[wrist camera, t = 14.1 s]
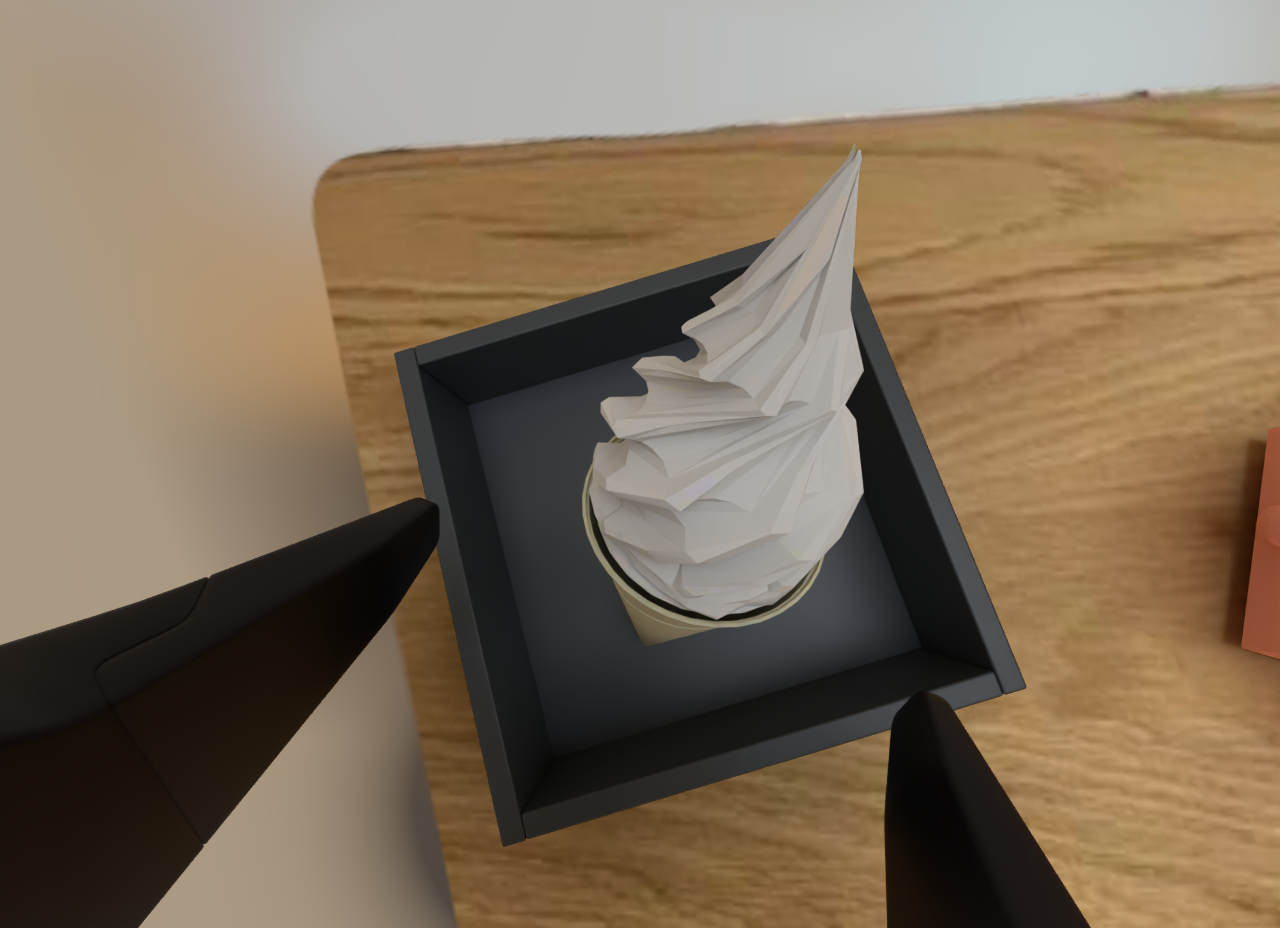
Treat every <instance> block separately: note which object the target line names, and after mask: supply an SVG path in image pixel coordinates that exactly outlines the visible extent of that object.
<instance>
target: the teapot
mask: <svg viewBox="0 0 1280 928" xmlns="http://www.w3.org/2000/svg"><path fill="white" fill-rule="evenodd" d="M1241 648H1244V649H1247V650H1250V651H1254V652H1257V653H1260V654H1263V655H1267V656H1270V657H1273V658H1277V659H1280V427H1277V428H1273V429H1269V430H1268V437H1267V445H1266V453H1265V461H1264V469H1263V477H1262V486H1261V494H1260V502H1259V510H1258V517H1257V523H1256V533H1255V541H1254V549H1253V557H1252V565H1251V573H1250V581H1249V589H1248V597H1247V604H1246V612H1245V620H1244V628H1243V636H1242V644H1241Z"/></svg>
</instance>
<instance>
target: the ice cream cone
mask: <svg viewBox="0 0 1280 928" xmlns="http://www.w3.org/2000/svg"><path fill="white" fill-rule="evenodd" d="M861 162H862V156H861V151H860V149H859V151H858V152H857V154H856V146H855V144H854V146H853V148H852V150H851V152H850V154H849V155H848V157H847V159H846V161H845V163H844V164H843V165H842V166H841V167H840V168H839V169H838V170H837V172H836V173H835V174H834V175H833V176H832V177H831V178H830V179H829V180H828V181H827V183H826V184H825V185H824V186H823V187H822V188H821V189H820V190H819V191H818V192H817V193H816V195H815V196H814V197H813V198H812V199H811V200H810V201H809V202H808V203H807V204H806V206H805V207H804V208H803V209H802V210H801V211H800V212H799V213H798V214H797V215H796V216H795V218H794V219H793V220H792V221H791V222H790V223H789V224H788V225H787V226H786V227H785V229H784V230H783V231H782V232H781V233H780V234H779V235H778V236H777V237H776V238H775V240H774V241H773V242H772V243H771V244H770V245H769V246H768V247H767V248H766V249H765V250H764V252H763V253H762V254H761V255H760V256H759V257H758V258H757V259H756V260H755V261H754V263H753V264H752V265H751V266H750V267H749V268H748V269H747V270H746V271H745V272H744V274H743V275H741V276H740V277H738V278H737V279H735V280H734V281H733V282H731V283H730V284H728V285H727V286H726V287H724V288H723V289H721V290H720V291H718V292H717V293H716V294H714V295H713V296H711V297H710V298H711V299H712V301H713V302H714V304H715V307H714V308H712V309H710V310H708V311H706V312H704V313H702V314H700V315H698V316H696V317H695V318H693V319H691V320H689V321H687V322H686V323H685V324H684V325H683V326H682V333H683V334H685V335H687V336H689V337H691V338H693V339H694V340H695V342H696V343H697V345H698V347H699V349H700V351H699V353H698V355H697V356H696V358H693V359H691V360H689V361H686V362H683V361H681V360H680V359H678V358H677V357H675V356H656V357H645V358H641V359H640V360H639V361H638V362H637V363H636V364H635V365H634V366H633V367H632V368H633V369H634V370H635V371H636V372H637V373H638V374H640V375H641V376H642V377H643V378H644V379H645V380H646V382H647V387H648V394H645V395H643V396H636V397H609V398H607V399H606V400H604V401H603V402H601V414H602V415H603V417H604V418H605V420H606V421H607V423H608V424H609V426H610V427H611V429H612V430H613V432H614V433H615V436H614V437H613V438H612V439H611V440H610V441H609V442H608V443H597V445H596V448H595V450H594V456H593V462H592V465H591V467H590V469H589V472H588V474H587V476H586V479H585V485H584V490H583V495H582V508H583V519H584V523H585V528H586V533H587V536H588V538H589V540H590V543H591V545H592V547H593V550H594V552H595V554H596V556H597V557H598V559H599V560H600V562H601V563H602V565H603V566H604V568H605V569H606V571H607V572H608V574H609V575H610V576H611V577H612V578H613V581H614V583H615V586H616V588H617V590H618V592H619V594H620V596H621V598H622V601H623V603H624V605H625V607H626V609H627V612H628V614H629V616H630V618H631V620H632V623H633V625H634V627H635V629H636V631H637V634H638V636H639V638H640V640H641V642H642V644H644V645H645V646H651V645H655V644H659V643H663V642H666V641H670V640H674V639H677V638H681V637H685V636H689V635H692V634H696V633H700V632H704V631H707V630H711V629H715V628H723V627H740V626H745V625H750V624H754V623H759V622H762V621H764V620H767V619H769V618H771V617H774V616H776V615H778V614H781V613H782V612H784V611H785V610H786V609H788V608H789V607H791V606H792V605H793V604H795V603H796V602H798V600H799V599H800V598H801V597H802V596H803V595H804V594H805V593H806V592H807V591H808V589H809V588H810V587H811V585H812V584H813V582H814V580H815V578H816V577H817V575H818V573H819V571H820V568H821V565H822V562H823V558H824V555H825V554H826V552H827V551H828V550H829V549H830V548H831V547H832V546H833V545H834V544H835V543H836V542H837V541H838V540H839V539H840V537H841V536H842V534H843V532H844V530H845V528H846V526H847V524H848V522H849V520H850V518H851V516H852V514H853V512H854V510H855V508H856V506H857V504H858V502H859V500H860V498H861V496H862V494H863V492H864V490H863V481H862V471H861V462H860V453H859V444H858V435H857V426H856V419H855V418H854V417H853V415H852V414H851V412H850V411H849V409H848V408H847V407H846V405H845V404H846V402H847V400H848V398H849V397H850V395H851V393H852V391H853V389H854V387H855V386H856V384H857V382H858V380H859V378H860V376H861V375H862V373H863V371H864V369H863V364H862V360H861V355H860V351H859V346H858V342H857V337H856V333H855V328H854V324H853V320H852V315H851V311H850V308H851V292H852V275H853V259H854V242H855V226H856V209H857V193H858V176H859V170H860V166H861Z"/></svg>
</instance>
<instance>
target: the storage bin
mask: <svg viewBox="0 0 1280 928" xmlns="http://www.w3.org/2000/svg"><path fill="white" fill-rule="evenodd" d="M774 240H775V238H774V239H770V240H767V241H764V242H761V243H757V244H754V245H751V246H747V247H744V248H741V249H737V250H734V251H731V252H727V253H724V254H721V255H717V256H714V257H711V258H708V259H704V260H701V261H698V262H694V263H691V264H688V265H684V266H681V267H678V268H674V269H671V270H668V271H665V272H661V273H658V274H655V275H651V276H648V277H645V278H641V279H638V280H635V281H631V282H628V283H625V284H622V285H618V286H615V287H612V288H608V289H605V290H602V291H598V292H595V293H592V294H588V295H585V296H582V297H579V298H575V299H572V300H569V301H565V302H562V303H559V304H555V305H552V306H549V307H545V308H542V309H539V310H536V311H532V312H529V313H526V314H522V315H519V316H516V317H512V318H509V319H506V320H502V321H499V322H496V323H492V324H489V325H486V326H483V327H479V328H476V329H473V330H469V331H466V332H463V333H459V334H456V335H453V336H449V337H446V338H443V339H440V340H436V341H433V342H430V343H426V344H423V345H420V346H416V347H415V349H414V348H409V349H406V350H403V351H399V352H396V353H394V355H395V360H396V364H397V369H398V374H399V378H400V383H401V387H402V392H403V396H404V401H405V405H406V410H407V414H408V419H409V423H410V428H411V433H412V437H413V442H414V446H415V451H416V455H417V460H418V464H419V469H420V473H421V478H422V483H423V487H424V492H425V496H426V500H428V501H431V502H433V503H436V504H437V505H438V507H439V510H440V537H439V541H438V543H437V551H438V555H439V560H440V564H441V569H442V573H443V578H444V582H445V587H446V591H447V596H448V601H449V605H450V610H451V614H452V619H453V623H454V628H455V632H456V637H457V641H458V646H459V650H460V655H461V660H462V664H463V669H464V673H465V678H466V682H467V687H468V691H469V696H470V700H471V705H472V709H473V714H474V719H475V723H476V728H477V732H478V737H479V741H480V746H481V750H482V755H483V759H484V764H485V768H486V773H487V778H488V782H489V787H490V791H491V796H492V800H493V805H494V809H495V814H496V818H497V823H498V828H499V832H500V837H501V841H502V845H503V847H505V846H508V845H512V844H515V843H518V842H522V841H525V840H526V838H527V839H531V838H534V837H537V836H541V835H544V834H547V833H550V832H554V831H557V830H560V829H564V828H567V827H570V826H574V825H577V824H580V823H583V822H587V821H590V820H593V819H597V818H600V817H603V816H607V815H610V814H613V813H617V812H620V811H623V810H626V809H630V808H633V807H636V806H640V805H643V804H646V803H650V802H653V801H656V800H660V799H663V798H666V797H669V796H673V795H676V794H679V793H683V792H686V791H689V790H693V789H696V788H699V787H702V786H706V785H709V784H712V783H716V782H719V781H722V780H726V779H729V778H732V777H736V776H739V775H742V774H745V773H749V772H752V771H755V770H759V769H762V768H765V767H769V766H772V765H775V764H778V763H782V762H785V761H788V760H792V759H795V758H798V757H802V756H805V755H808V754H812V753H815V752H818V751H821V750H825V749H828V748H831V747H835V746H838V745H841V744H845V743H848V742H851V741H854V740H858V739H861V738H864V737H868V736H871V735H874V734H878V733H881V732H884V731H888V730H891V726H892V721H893V718H894V716H895V714H896V713H897V711H898V710H899V709H900V708H901V707H902V706H903V705H904V704H905V703H906V702H907V701H908V700H909V698H910V697H911V696H912V695H913V694H914V693H915V692H916V691H918V690H925V691H928V692H931V693H933V694H936V695H938V696H941V697H943V698H944V699H946V700H947V701H948V703H949V704H950V705H951V707H952V709H953V710H957V709H960V708H964V707H967V706H970V705H973V704H977V703H980V702H983V701H987V700H990V699H993V698H997V697H1000V696H1002V695H1003V694H1010V693H1013V692H1016V691H1019V690H1023V689H1025V688H1026V684H1025V682H1024V679H1023V677H1022V674H1021V672H1020V670H1019V667H1018V665H1017V662H1016V660H1015V657H1014V655H1013V653H1012V650H1011V648H1010V645H1009V643H1008V640H1007V638H1006V636H1005V633H1004V631H1003V628H1002V626H1001V623H1000V621H999V619H998V616H997V614H996V611H995V609H994V606H993V604H992V602H991V599H990V597H989V594H988V592H987V589H986V587H985V585H984V582H983V580H982V577H981V575H980V572H979V570H978V568H977V565H976V563H975V560H974V558H973V555H972V553H971V551H970V548H969V546H968V543H967V541H966V538H965V536H964V534H963V531H962V529H961V526H960V524H959V521H958V519H957V517H956V514H955V512H954V509H953V507H952V504H951V502H950V500H949V497H948V495H947V492H946V490H945V487H944V485H943V483H942V480H941V478H940V475H939V473H938V470H937V468H936V466H935V463H934V461H933V458H932V456H931V453H930V451H929V449H928V446H927V444H926V441H925V439H924V436H923V434H922V432H921V429H920V427H919V424H918V422H917V419H916V417H915V415H914V412H913V410H912V407H911V405H910V402H909V400H908V397H907V395H906V393H905V390H904V388H903V385H902V383H901V380H900V378H899V376H898V373H897V371H896V368H895V366H894V363H893V361H892V359H891V356H890V354H889V351H888V349H887V346H886V344H885V342H884V339H883V337H882V334H881V332H880V329H879V327H878V325H877V322H876V320H875V317H874V315H873V312H872V310H871V308H870V305H869V303H868V300H867V298H866V295H865V293H864V291H863V288H862V286H861V283H860V281H859V278H858V276H857V274H856V271H855V269H854V266H853V275H852V292H851V308H850V311H851V315H852V320H853V324H854V328H855V333H856V337H857V342H858V346H859V351H860V355H861V360H862V364H863V369H864V371H863V373H862V375H861V376H860V378H859V380H858V382H857V384H856V386H855V387H854V389H853V391H852V393H851V395H850V397H849V398H848V400H847V402H846V404H845V405H846V407H847V408H848V409H849V411H850V412H851V414H852V415H853V417H854V418H855V419H856V426H857V435H858V444H859V453H860V462H861V471H862V481H863V490H864V492H863V494H862V496H861V498H860V500H859V502H858V504H857V506H856V508H855V510H854V512H853V514H852V516H851V518H850V520H849V522H848V524H847V526H846V528H845V530H844V532H843V534H842V536H841V537H840V539H839V540H838V541H837V542H836V543H835V544H834V545H833V546H832V547H831V548H830V549H829V550H828V551H827V552H826V554H825V555H824V558H823V562H822V565H821V568H820V571H819V573H818V575H817V577H816V578H815V580H814V582H813V584H812V585H811V587H810V588H809V589H808V591H807V592H806V593H805V594H804V595H803V596H802V597H801V598H800V599H799V600H798V602H796V603H795V604H793V605H792V606H791V607H789V608H788V609H786V610H785V611H784V612H782V613H781V614H778V615H776V616H774V617H771V618H769V619H767V620H764V621H762V622H759V623H754V624H750V625H745V626H740V627H723V628H715V629H711V630H707V631H704V632H700V633H696V634H692V635H689V636H685V637H681V638H677V639H674V640H670V641H666V642H663V643H659V644H655V645H651V646H645V645H644V644H642V642H641V640H640V638H639V636H638V634H637V631H636V629H635V627H634V625H633V623H632V620H631V618H630V616H629V614H628V612H627V609H626V607H625V605H624V603H623V601H622V598H621V596H620V594H619V592H618V590H617V588H616V586H615V583H614V581H613V578H612V577H611V576H610V575H609V574H608V572H607V571H606V569H605V568H604V566H603V565H602V563H601V562H600V560H599V559H598V557H597V556H596V554H595V552H594V550H593V547H592V545H591V543H590V540H589V538H588V536H587V533H586V528H585V523H584V519H583V508H582V495H583V490H584V485H585V479H586V476H587V474H588V472H589V469H590V467H591V465H592V462H593V456H594V450H595V448H596V445H597V443H608V442H609V441H610V440H611V439H612V438H613V437H614V436H615V433H614V432H613V430H612V429H611V427H610V426H609V424H608V423H607V421H606V420H605V418H604V417H603V415H602V414H601V402H603V401H604V400H606V399H607V398H609V397H636V396H643V395H645V394H648V387H647V382H646V380H645V379H644V378H643V377H642V376H641V375H640V374H638V373H637V372H636V371H635V370H634V369H633V368H632V367H633V366H634V365H635V364H636V363H637V362H638V361H639V360H640V359H641V358H645V357H656V356H675V357H677V358H678V359H680V360H681V361H683V362H686V361H689V360H691V359H693V358H696V356H697V355H698V353H699V351H700V349H699V347H698V345H697V343H696V342H695V340H694V339H693V338H691V337H689V336H687V335H685V334H683V333H682V326H683V325H684V324H685V323H686V322H687V321H689V320H691V319H693V318H695V317H696V316H698V315H700V314H702V313H704V312H706V311H708V310H710V309H712V308H714V307H715V304H714V302H713V301H712V299H711V298H710V297H711V296H713V295H714V294H716V293H717V292H718V291H720V290H721V289H723V288H724V287H726V286H727V285H728V284H730V283H731V282H733V281H734V280H735V279H737V278H738V277H740V276H741V275H743V274H744V272H745V271H746V270H747V269H748V268H749V267H750V266H751V265H752V264H753V263H754V261H755V260H756V259H757V258H758V257H759V256H760V255H761V254H762V253H763V252H764V250H765V249H766V248H767V247H768V246H769V245H770V244H771V243H772V242H773V241H774Z"/></svg>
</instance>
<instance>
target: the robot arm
mask: <svg viewBox="0 0 1280 928" xmlns="http://www.w3.org/2000/svg"><path fill="white" fill-rule="evenodd" d="M439 537H440V510H439V507H438V505H437V504H436V503H433V502H431V501H428V500H425V499H423V498H414V499H411V500H408V501H406V502H403V503H400V504H398V505H395V506H392V507H390V508H387V509H384V510H382V511H379V512H376V513H374V514H371V515H369V516H366V517H364V518H361V519H358V520H355V521H353V522H350V523H348V524H345V525H342V526H340V527H337V528H334V529H332V530H329V531H326V532H324V533H321V534H318V535H316V536H313V537H311V538H308V539H305V540H303V541H300V542H297V543H295V544H292V545H289V546H287V547H285V548H282V549H279V550H276V551H274V552H271V553H268V554H266V555H263V556H260V557H258V558H255V559H253V560H250V561H247V562H245V563H242V564H240V565H237V566H234V567H231V568H229V569H226V570H223V571H221V572H218V573H216V574H213V575H211V576H210V578H207V577H205V578H202V579H199V580H197V581H194V582H191V583H189V584H186V585H184V586H181V587H178V588H175V589H173V590H170V591H167V592H164V593H161V594H159V595H156V596H153V597H151V598H147V599H145V600H142V601H139V602H136V603H133V604H130V605H127V606H124V607H121V608H118V609H115V610H111V611H108V612H105V613H102V614H99V615H96V616H93V617H90V618H87V619H83V620H80V621H77V622H73V623H70V624H67V625H64V626H60V627H57V628H55V629H51V630H47V631H44V632H41V633H38V634H34V635H31V636H28V637H25V638H22V639H18V640H15V641H12V642H9V643H5V644H2V645H0V928H138V927H139V926H140V925H141V924H142V922H143V921H144V920H145V918H147V916H148V915H149V914H150V913H151V911H152V910H153V909H154V908H155V906H156V905H157V904H158V903H159V902H160V900H161V899H162V898H163V897H164V895H165V894H166V893H167V892H168V890H169V889H170V888H171V886H172V885H173V884H174V883H175V882H176V881H177V879H178V878H179V877H180V876H181V874H182V873H183V872H184V871H185V870H186V868H187V867H188V866H189V864H190V863H191V862H192V861H193V860H194V858H195V857H196V856H197V855H198V853H199V852H200V851H201V850H202V848H203V847H204V846H203V844H206V843H207V842H208V840H209V839H210V838H211V837H212V835H213V834H214V833H215V832H216V831H217V829H218V828H219V827H220V826H221V824H222V823H223V822H224V821H225V820H226V818H227V817H228V816H229V815H230V813H231V812H232V811H233V810H234V809H235V807H236V806H237V805H238V804H239V802H240V801H241V800H242V799H243V797H244V796H245V795H246V794H247V792H248V791H249V790H250V789H251V788H252V786H253V785H254V784H255V783H256V782H257V780H258V779H259V778H260V777H261V775H262V774H263V773H264V772H265V770H266V769H267V768H268V767H269V766H270V764H271V763H272V762H273V760H274V759H275V758H276V757H277V756H278V754H279V753H280V752H281V751H282V749H283V748H284V747H285V746H286V745H287V743H288V742H289V741H290V740H291V738H292V737H293V736H294V735H295V733H296V732H297V731H298V730H299V729H300V727H301V726H302V724H304V722H305V721H306V720H307V719H308V717H309V716H310V715H311V714H312V713H313V711H314V710H315V709H316V708H317V706H318V705H319V704H320V703H321V701H322V700H323V699H324V698H325V697H326V695H327V694H328V693H329V692H330V690H331V689H332V688H333V687H334V685H335V684H336V683H337V682H338V681H339V679H340V678H341V677H342V675H343V674H344V673H345V672H346V671H347V669H348V668H349V667H350V666H351V664H352V663H353V662H354V661H355V660H356V658H357V657H358V656H359V655H360V653H361V652H362V651H363V650H364V648H365V647H366V646H367V645H368V643H369V642H370V641H371V640H372V639H373V637H374V636H375V635H376V634H377V632H378V631H379V630H380V629H381V628H382V626H383V625H384V624H385V623H386V621H387V620H388V619H389V617H390V616H391V615H392V613H393V612H394V611H395V609H396V608H397V606H398V605H399V603H400V602H401V600H402V599H403V597H404V596H405V594H406V592H407V591H408V589H409V588H410V586H411V585H412V583H413V582H414V580H415V578H416V577H417V575H418V574H419V572H420V571H421V569H422V568H423V566H424V565H425V563H426V561H427V560H428V558H429V557H430V555H431V554H432V552H433V551H434V549H435V547H436V546H437V543H438V541H439ZM884 833H885V868H886V902H887V928H1091V927H1090V926H1089V924H1088V923H1087V921H1086V919H1085V918H1084V916H1083V915H1082V913H1081V911H1080V910H1079V908H1078V907H1077V905H1076V904H1075V902H1074V900H1073V899H1072V897H1071V896H1070V894H1069V892H1068V891H1067V889H1066V888H1065V886H1064V884H1063V883H1062V881H1061V880H1060V878H1059V877H1058V875H1057V873H1056V872H1055V870H1054V869H1053V867H1052V865H1051V864H1050V862H1049V861H1048V859H1047V858H1046V856H1045V854H1044V853H1043V851H1042V850H1041V848H1040V846H1039V845H1038V843H1037V842H1036V840H1035V839H1034V837H1033V835H1032V834H1031V832H1030V831H1029V829H1028V827H1027V826H1026V824H1025V823H1024V821H1023V820H1022V818H1021V816H1020V815H1019V813H1018V812H1017V810H1016V808H1015V807H1014V805H1013V804H1012V802H1011V801H1010V799H1009V797H1008V796H1007V794H1006V793H1005V791H1004V789H1003V788H1002V786H1001V785H1000V783H999V782H998V780H997V778H996V777H995V775H994V774H993V772H992V770H991V769H990V767H989V766H988V764H987V763H986V761H985V759H984V758H983V756H982V755H981V753H980V751H979V750H978V748H977V747H976V745H975V743H974V742H973V740H972V739H971V737H970V736H969V734H968V732H967V731H966V729H965V728H964V726H963V724H962V723H961V721H960V720H959V718H958V717H957V715H956V713H955V712H954V710H953V709H952V707H951V705H950V704H949V703H948V701H947V700H946V699H944V698H943V697H941V696H938V695H936V694H933V693H931V692H928V691H925V690H918V691H916V692H915V693H914V694H913V695H912V696H911V697H910V698H909V700H908V701H907V702H906V703H905V704H904V705H903V706H902V707H901V708H900V709H899V710H898V711H897V713H896V714H895V716H894V718H893V721H892V726H891V737H890V749H889V761H888V773H887V785H886V797H885V814H884Z"/></svg>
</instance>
